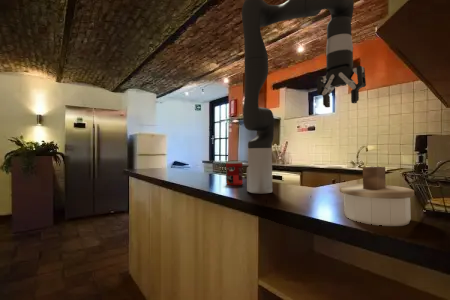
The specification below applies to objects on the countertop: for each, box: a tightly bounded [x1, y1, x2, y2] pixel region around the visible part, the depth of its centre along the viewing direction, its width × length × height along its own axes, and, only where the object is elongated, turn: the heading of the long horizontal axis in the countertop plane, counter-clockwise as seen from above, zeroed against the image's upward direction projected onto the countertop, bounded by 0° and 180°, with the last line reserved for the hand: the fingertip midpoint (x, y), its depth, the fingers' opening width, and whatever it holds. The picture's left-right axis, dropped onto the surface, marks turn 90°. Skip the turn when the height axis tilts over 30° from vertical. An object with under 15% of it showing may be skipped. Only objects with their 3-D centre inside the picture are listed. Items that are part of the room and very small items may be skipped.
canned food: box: [225, 161, 244, 186], centre depth 121 cm, size 8×8×11 cm
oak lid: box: [339, 165, 415, 199], centre depth 59 cm, size 15×15×6 cm
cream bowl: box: [343, 193, 412, 227], centre depth 59 cm, size 13×13×6 cm
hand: (340, 105), depth 77 cm, fingers open, 8 cm apart
